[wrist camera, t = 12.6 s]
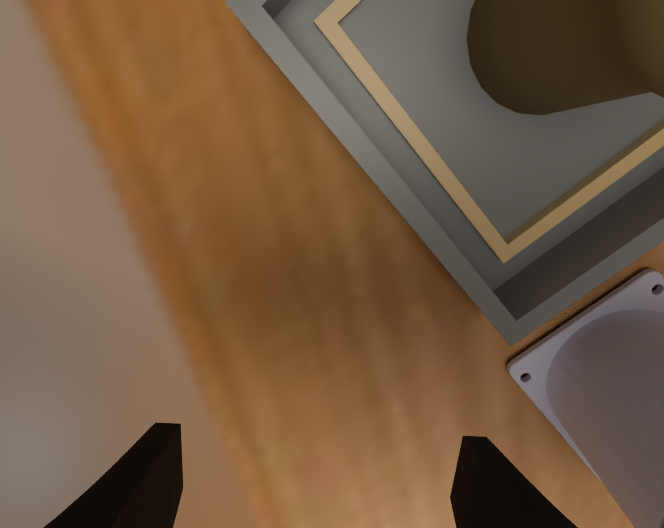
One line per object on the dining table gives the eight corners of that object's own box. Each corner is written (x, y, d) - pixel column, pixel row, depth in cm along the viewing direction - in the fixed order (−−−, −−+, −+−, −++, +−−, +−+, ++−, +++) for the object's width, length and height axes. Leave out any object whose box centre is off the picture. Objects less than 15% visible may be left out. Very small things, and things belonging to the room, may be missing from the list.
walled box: (817, 68, 19) (921, 62, 15) (483, 308, 22) (510, 346, 19) (617, -359, 15) (703, -493, 11) (243, 19, 18) (225, 2, 15)
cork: (537, -104, 16) (909, -455, 6) (664, 0, 17) (1168, -141, 7) (434, 60, 18) (581, 13, 8) (556, 144, 19) (831, 205, 9)
